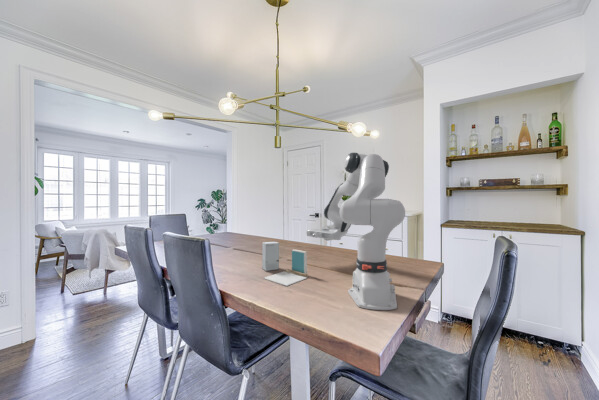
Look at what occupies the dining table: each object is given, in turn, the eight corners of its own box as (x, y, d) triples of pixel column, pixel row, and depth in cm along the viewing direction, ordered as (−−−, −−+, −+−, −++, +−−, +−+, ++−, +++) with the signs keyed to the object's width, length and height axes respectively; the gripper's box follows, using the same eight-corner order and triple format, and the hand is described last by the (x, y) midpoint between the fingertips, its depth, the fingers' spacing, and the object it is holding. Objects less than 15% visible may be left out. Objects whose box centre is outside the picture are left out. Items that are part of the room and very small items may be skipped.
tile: (294, 271, 133) (294, 249, 133) (307, 275, 127) (306, 251, 127) (291, 272, 132) (291, 249, 132) (304, 276, 126) (304, 252, 126)
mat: (284, 272, 133) (284, 271, 133) (306, 278, 122) (306, 277, 122) (263, 278, 122) (263, 277, 122) (286, 286, 112) (286, 285, 112)
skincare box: (265, 271, 134) (265, 243, 134) (261, 268, 140) (261, 242, 139) (279, 269, 138) (279, 242, 138) (275, 266, 143) (275, 240, 143)
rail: (287, 271, 133) (287, 268, 133) (307, 277, 124) (307, 274, 124) (285, 272, 132) (285, 269, 132) (305, 277, 123) (305, 274, 123)
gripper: (314, 226, 156) (300, 228, 145) (342, 228, 142) (328, 231, 132) (315, 236, 156) (300, 239, 146) (343, 240, 142) (328, 243, 132)
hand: (313, 235), depth 139 cm, fingers closed
